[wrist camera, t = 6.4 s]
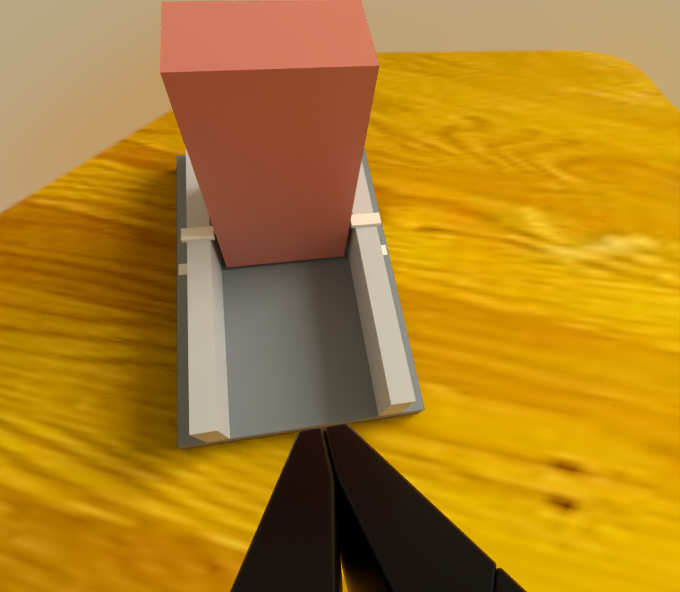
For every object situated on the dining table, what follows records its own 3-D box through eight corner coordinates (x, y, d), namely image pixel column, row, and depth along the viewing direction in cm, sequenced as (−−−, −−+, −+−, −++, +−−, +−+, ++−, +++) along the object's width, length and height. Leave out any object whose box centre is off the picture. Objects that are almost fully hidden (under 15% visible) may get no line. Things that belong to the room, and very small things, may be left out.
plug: (343, 256, 22) (379, 65, 12) (226, 267, 21) (160, 72, 11) (335, 209, 23) (360, -1, 13) (224, 218, 22) (161, 1, 12)
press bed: (419, 412, 20) (446, 395, 16) (183, 448, 19) (153, 439, 15) (361, 156, 27) (371, 101, 23) (181, 167, 25) (159, 110, 21)
